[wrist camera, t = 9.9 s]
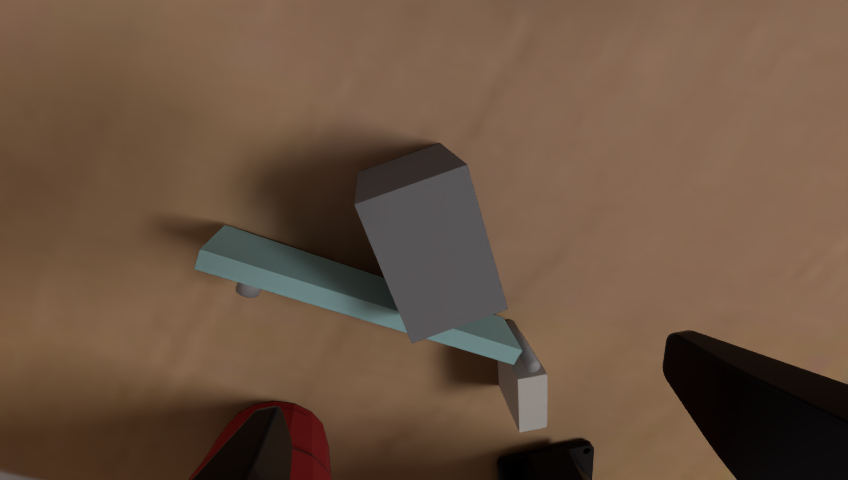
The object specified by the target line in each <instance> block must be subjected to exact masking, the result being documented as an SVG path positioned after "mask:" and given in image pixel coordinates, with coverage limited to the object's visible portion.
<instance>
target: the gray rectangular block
mask: <svg viewBox="0 0 848 480" xmlns="http://www.w3.org/2000/svg"><path fill="white" fill-rule="evenodd" d="M354 205H355V208H356V210H357V212H358V215H359V217H360V220H361V222H362V225H363V227H364V229H365V232H366V234H367V237H368V239H369V241H370V244H371V246H372V249H373V251H374V254H375V256H376V258H377V261H378V263H379V266H380V268H381V270H382V273H383V275H384V278H385V280H386V282H387V285H388V287H389V290H390V292H391V295H392V297H393V299H394V302H395V304H396V307H397V309H398V311H399V314H400V316H401V319H402V321H403V324H404V326H405V328H406V331H407V333H408V336H409V338H410V340H411V343H414V342H417V341H420V340H423V339H425V338H428V337H431V336H434V335H437V334H439V333H442V332H445V331H448V330H451V329H453V328H456V327H459V326H462V325H465V324H468V323H470V322H473V321H476V320H479V319H482V318H484V317H487V316H490V315H493V314H496V313H498V312H501V311H504V310H507V309H508V308H507V304H506V301H505V297H504V293H503V290H502V286H501V283H500V279H499V276H498V272H497V269H496V265H495V262H494V258H493V254H492V251H491V247H490V244H489V240H488V237H487V233H486V230H485V226H484V223H483V219H482V215H481V212H480V208H479V205H478V201H477V198H476V194H475V191H474V187H473V184H472V180H471V176H470V173H469V169H468V166H467V164H466V163H465V162H463V161H462V160H461V159H459V158H458V157H457V156H456V155H454V154H453V153H452V152H451V151H449V150H448V149H447V148H446V147H444V146H443V145H442V144H441V143H439V144H436V145H433V146H430V147H427V148H424V149H422V150H419V151H416V152H413V153H410V154H407V155H405V156H402V157H399V158H396V159H393V160H390V161H388V162H385V163H382V164H379V165H376V166H373V167H371V168H368V169H365V170H362V171H359V172H358V177H357V185H356V194H355V202H354Z"/></svg>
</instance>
